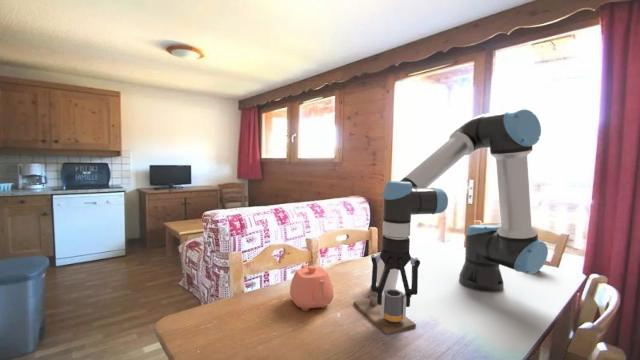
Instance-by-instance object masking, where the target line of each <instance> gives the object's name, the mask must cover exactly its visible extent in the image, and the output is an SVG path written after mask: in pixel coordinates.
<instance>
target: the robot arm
mask: <svg viewBox="0 0 640 360" xmlns="http://www.w3.org/2000/svg"><path fill="white" fill-rule="evenodd" d="M541 134H542V127H541V122H540V121H539V118H538V117H537V115H536V114H534V112H532V110H530V109H526V108H516V109H515V108H514V109H513V108H511V109H509V110H504V111H503V110H502V111H499V112H498V111H496V112H490V113H485V114H481V115H480V114H479V115H478V116H475V117H474V118H472V119H470V120H469V121H467V122H465V123H464V124H462V125H461V126H460V127H459V128H458V129H456V130H454V131H453V132H452V133H451V134H450V136H449V139H448V140H447V141H446V142H445V143H443V144H442V145H441V146H440V147H439V148H438V149H436V150H435V151H434V152H433V153H432V154H431V155H429V157H427V158H426V159H424V160H423V161H422V162H421V163H420V164H418V166H417V167H415V168H414V169H413V170H411V171H410V172H409V173H408V174H407V175H406V176H404V177H403V178H402V179H400V180H399V181H396V180H391V181H390V180H389V181H387V182H386V183H385V185H384V188H383V190H382V199H383V208H382V209H383V210H382V211H383V219H382V220H383V221H382V234H383V236H382V238H381V240H382V241H381V251H380V252H379V253H380V255H376V254H375V255H376V256H375V255H374V254H372V255H371V257H370V259H371V263H372V270H371V282H370V283H371V285H370V286H371V288H372V291H373V292H377V303H378V305H381V317H382V318H384V303H385V294H384V291H383V289H384V286H385V283H386V280H387V277H388V274H389V272H390V269H397V270H399V273H400V276H401V277H400V278H401V280H402V284H403V289H404V292H402V293H403V319H404V320H405V319H406V317H407V316H406V314H407V308H410V305H411V298H412V296H413V295H415V296H416V295H418V286H419V285H418V282H419V281H418V277H419V275H418V274H419V273H418V272H419V267H420V265H421V261H420V259H419V258H418V257H413V256H411V254H410V244H411V243H410V242H411V239H410V236H411V222H412V216H413V215H414V216H415V215H436V214H441V213H443V212H445V211H446V210H447V208H448V206H449V204H448V203H449V198H448V194H447V193H446V191H444V190H443V189H441V188H437V187H436V188H435V187H430V186H431V185H433V183H434V182H436V181H437V180H438V179H439V178H440V177H441V176H442V175H444V174H445V173H446V172H447V171H448V170H449V169H450V168H451V167H453V166H454V165H455V164H456V163H458V161H460V160H461V159H462V158H463V157H465V156H469V155H471V154H473V153H474V151H476V150H478V149H479V150H480V149H483V148H489V153H490V155H491V156H492V157H494V159H495V161H496V162H495V163H496V174H497V175H496V176H497V186H498V187H497V188H498V202H499V214H500V225H497V224H496V225H495V224H494V225H493V224H473V225H472V224H471V225H469V226H468V227H467V229H466V235H465V253H464V255H465V258H464V259H465V260H464V264H463V265H462V268H461V271H460V273H459V275H458V276H459V277H458V282H459V283H460V284H462V285H463V286H465V287H468V288H469V289H472V290H476V291H480V292H487V293H498V292H502V291H503V290H504V286H505V285H504V279H503V275H502V272H501V270H500V265H501V266H503V267H506V268H508V269H511V270H514V271H515V272H518V273H522V274H526V275H533V274H536V273H538V272H540V270H541V269H542V268H543V266H544V265H545V263H546V261H547V259H548V253H549V248H548V246H547V244H546V243H545V242H544V241H542V240H540V239H539V235H538V234H539V233H538V230H536V229H535V228H534V227H532V214H531V213H532V212H531V199H530V198H531V197H530V196H531V195H530V184H529V183H530V182H529V180H530V179H529V166H528V165H529V164H528V163H529V162H528V155H529V154H530V153H531V152H532V151H533V146H534V145H536V144H537V143H538V142H539V140H540V137H541ZM380 259H382V261H383V262H384V264H385V266H384V270H383V273H382V276H381V279H380V282H379V285H378V286H376V285H377V264H378V263H379V260H380ZM409 262H410V264H411V286H409V281H408V277H407V272H406V269H405V267H406V266H407V264H408V263H409ZM537 271H538V272H537ZM410 287H411V288H410Z"/></svg>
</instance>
